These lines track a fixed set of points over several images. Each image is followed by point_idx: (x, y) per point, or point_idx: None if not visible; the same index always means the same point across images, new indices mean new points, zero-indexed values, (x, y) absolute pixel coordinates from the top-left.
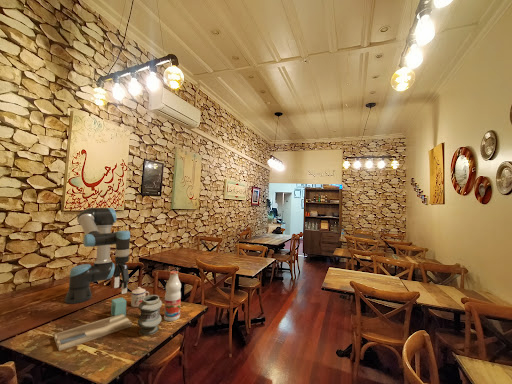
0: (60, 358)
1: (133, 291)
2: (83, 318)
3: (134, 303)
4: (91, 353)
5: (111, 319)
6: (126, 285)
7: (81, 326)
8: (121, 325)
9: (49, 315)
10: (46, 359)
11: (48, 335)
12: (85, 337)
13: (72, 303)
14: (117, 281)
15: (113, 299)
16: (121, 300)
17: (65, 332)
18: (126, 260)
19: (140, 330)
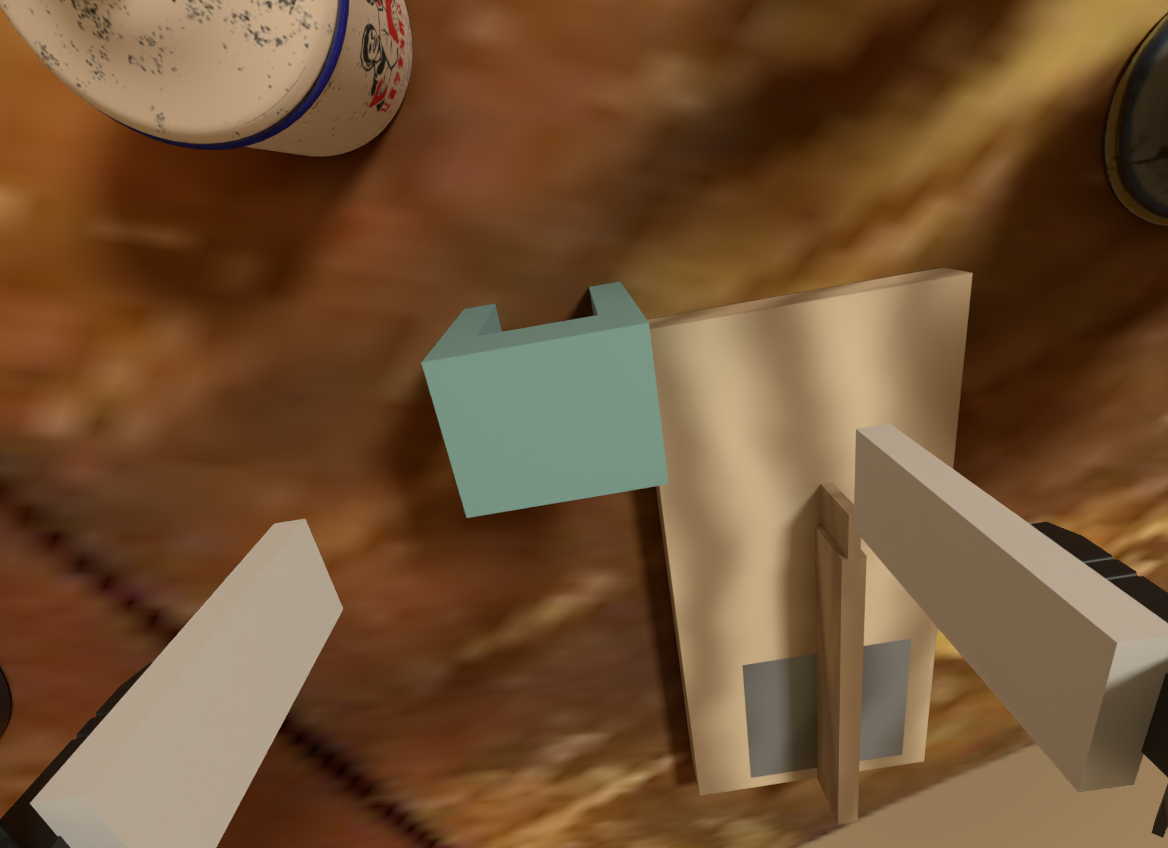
0: (1002, 722)
1: (188, 97)
2: (450, 632)
3: (376, 113)
4: None
5: (724, 455)
6: (1140, 587)
7: (697, 668)
8: (947, 384)
9: (252, 818)
10: (948, 771)
11: (629, 791)
12: (926, 645)
13: (8, 714)
14: (236, 686)
15: (464, 495)
16: (581, 395)
17: (853, 789)
18: None
19: (1165, 208)
